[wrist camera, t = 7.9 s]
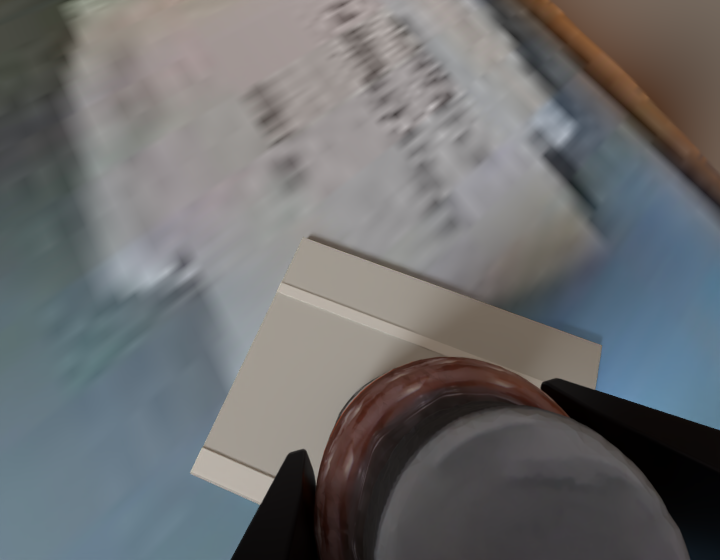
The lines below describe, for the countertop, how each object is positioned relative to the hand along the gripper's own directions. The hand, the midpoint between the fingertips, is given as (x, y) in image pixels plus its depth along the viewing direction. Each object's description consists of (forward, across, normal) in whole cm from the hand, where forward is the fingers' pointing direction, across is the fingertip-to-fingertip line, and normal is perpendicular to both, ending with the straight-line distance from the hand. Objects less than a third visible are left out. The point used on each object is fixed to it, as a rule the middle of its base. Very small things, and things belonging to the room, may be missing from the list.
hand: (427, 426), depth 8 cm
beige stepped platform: (+6, +1, -6) cm, 8 cm away
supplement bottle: (+4, 0, -6) cm, 8 cm away
